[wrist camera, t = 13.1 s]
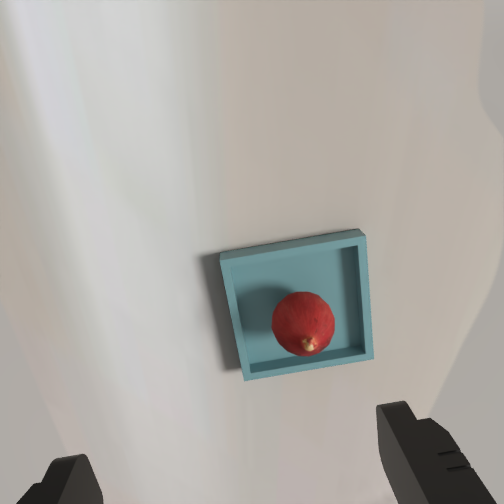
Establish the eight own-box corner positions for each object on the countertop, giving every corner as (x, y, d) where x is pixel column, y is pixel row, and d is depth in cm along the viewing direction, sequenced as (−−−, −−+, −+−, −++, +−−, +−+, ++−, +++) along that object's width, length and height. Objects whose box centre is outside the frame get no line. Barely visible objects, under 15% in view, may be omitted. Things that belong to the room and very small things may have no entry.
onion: (336, 304, 41) (360, 349, 33) (294, 339, 42) (309, 390, 34) (298, 267, 39) (315, 305, 32) (256, 304, 40) (262, 350, 33)
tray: (220, 252, 39) (219, 260, 37) (358, 228, 39) (365, 235, 37) (243, 367, 44) (244, 381, 41) (367, 347, 43) (373, 359, 41)
